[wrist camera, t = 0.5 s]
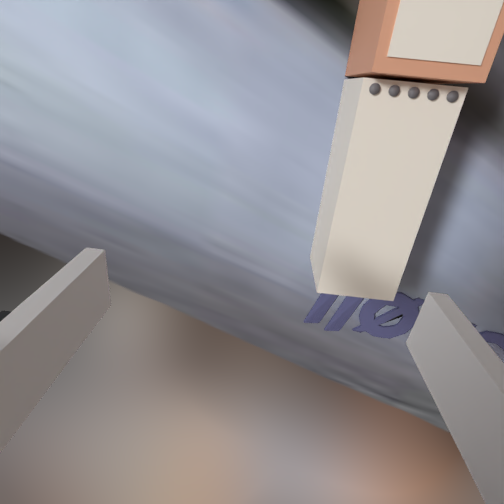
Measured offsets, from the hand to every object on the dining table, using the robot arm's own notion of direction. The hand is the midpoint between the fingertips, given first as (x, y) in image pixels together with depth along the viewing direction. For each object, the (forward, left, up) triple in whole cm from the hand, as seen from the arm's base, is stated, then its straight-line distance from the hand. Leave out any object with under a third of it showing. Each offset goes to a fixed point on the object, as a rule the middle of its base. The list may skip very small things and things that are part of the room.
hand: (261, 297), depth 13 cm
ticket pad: (+1, +10, -26) cm, 28 cm away
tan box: (-14, +10, -26) cm, 31 cm away
